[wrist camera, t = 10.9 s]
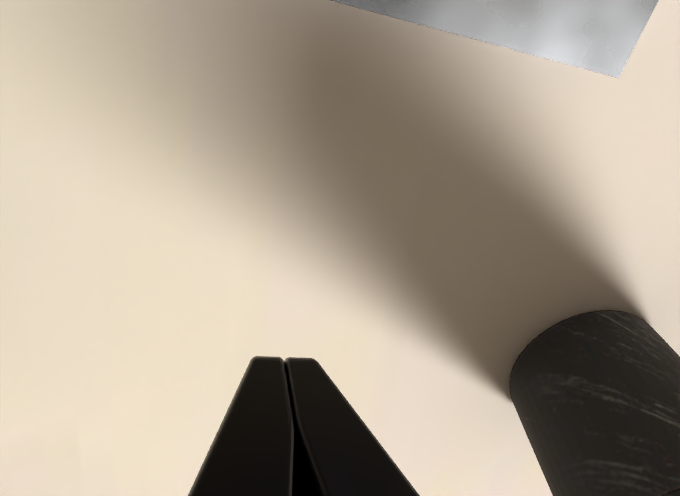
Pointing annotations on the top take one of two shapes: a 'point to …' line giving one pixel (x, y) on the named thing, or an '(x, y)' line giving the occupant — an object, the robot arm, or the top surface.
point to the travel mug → (602, 406)
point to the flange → (535, 26)
